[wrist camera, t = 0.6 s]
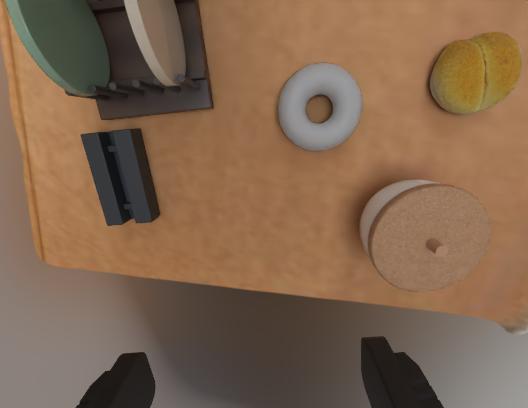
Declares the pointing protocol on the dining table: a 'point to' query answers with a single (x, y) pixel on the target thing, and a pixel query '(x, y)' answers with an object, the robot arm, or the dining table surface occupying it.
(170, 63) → the cream plate
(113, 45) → the dish rack
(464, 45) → the bread roll
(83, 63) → the sage plate
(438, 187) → the lidded bowl
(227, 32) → the dining table surface
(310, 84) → the donut
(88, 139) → the plate stand
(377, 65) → the dining table surface
